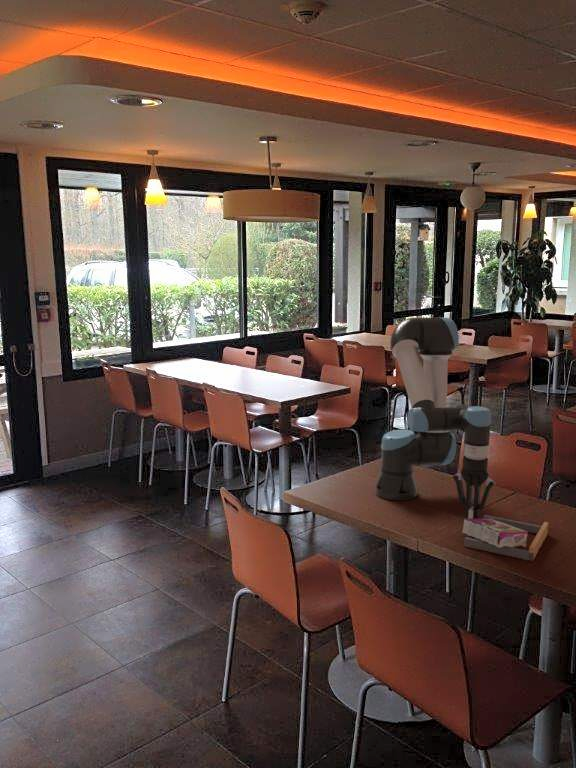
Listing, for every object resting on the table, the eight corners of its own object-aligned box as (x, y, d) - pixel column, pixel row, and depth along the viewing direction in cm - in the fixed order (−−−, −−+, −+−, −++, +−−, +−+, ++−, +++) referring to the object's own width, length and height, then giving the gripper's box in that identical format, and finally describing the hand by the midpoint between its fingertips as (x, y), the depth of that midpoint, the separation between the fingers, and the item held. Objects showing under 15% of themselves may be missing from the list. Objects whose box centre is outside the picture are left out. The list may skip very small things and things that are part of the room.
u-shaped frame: (464, 546, 207) (464, 533, 206) (484, 521, 226) (484, 510, 225) (532, 561, 197) (533, 548, 196) (547, 534, 216) (548, 522, 215)
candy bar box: (491, 517, 217) (529, 531, 202) (489, 532, 217) (527, 547, 202) (463, 517, 212) (499, 531, 197) (461, 533, 212) (497, 548, 197)
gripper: (451, 456, 212) (447, 527, 217) (493, 463, 206) (488, 536, 210) (458, 450, 218) (454, 519, 223) (499, 456, 212) (494, 528, 216)
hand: (470, 527), depth 217 cm, fingers closed
